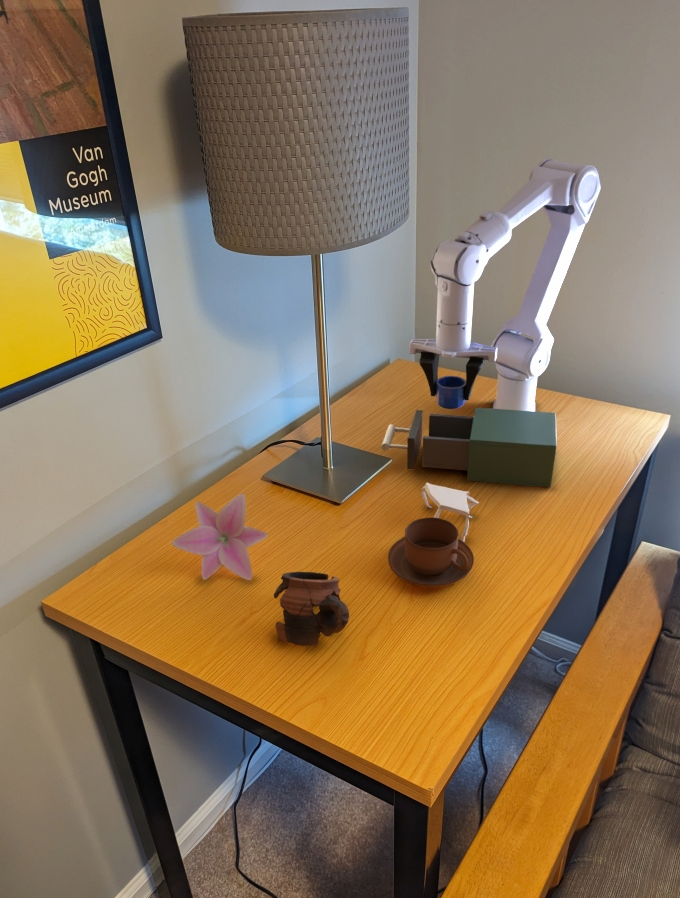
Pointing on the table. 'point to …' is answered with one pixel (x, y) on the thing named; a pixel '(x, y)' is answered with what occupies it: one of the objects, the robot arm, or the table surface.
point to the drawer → (435, 441)
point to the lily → (222, 538)
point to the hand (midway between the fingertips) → (450, 395)
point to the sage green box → (512, 447)
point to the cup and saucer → (431, 554)
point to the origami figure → (449, 502)
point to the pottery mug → (310, 608)
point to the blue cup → (450, 392)
